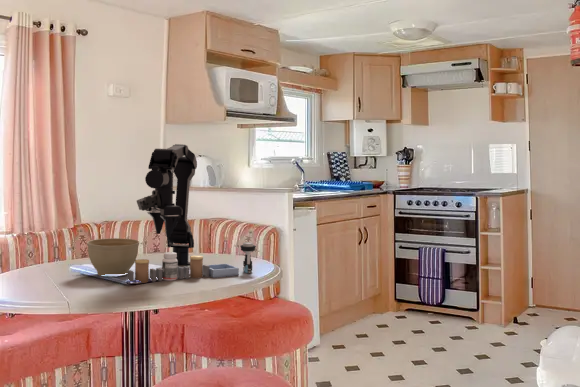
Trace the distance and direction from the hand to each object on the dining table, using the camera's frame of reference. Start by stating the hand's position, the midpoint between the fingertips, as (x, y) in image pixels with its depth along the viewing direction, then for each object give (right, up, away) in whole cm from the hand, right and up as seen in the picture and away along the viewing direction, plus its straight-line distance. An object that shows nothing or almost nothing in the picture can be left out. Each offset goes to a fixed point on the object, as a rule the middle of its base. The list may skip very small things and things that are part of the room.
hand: (163, 235), depth 187 cm
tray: (+18, -13, +6) cm, 23 cm away
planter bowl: (-16, -13, 0) cm, 21 cm away
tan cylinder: (+11, -14, 0) cm, 17 cm away
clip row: (+3, -14, -5) cm, 15 cm away
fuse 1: (-4, -14, -10) cm, 17 cm away
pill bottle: (+3, -14, -5) cm, 15 cm away
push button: (+27, -14, +10) cm, 32 cm away
